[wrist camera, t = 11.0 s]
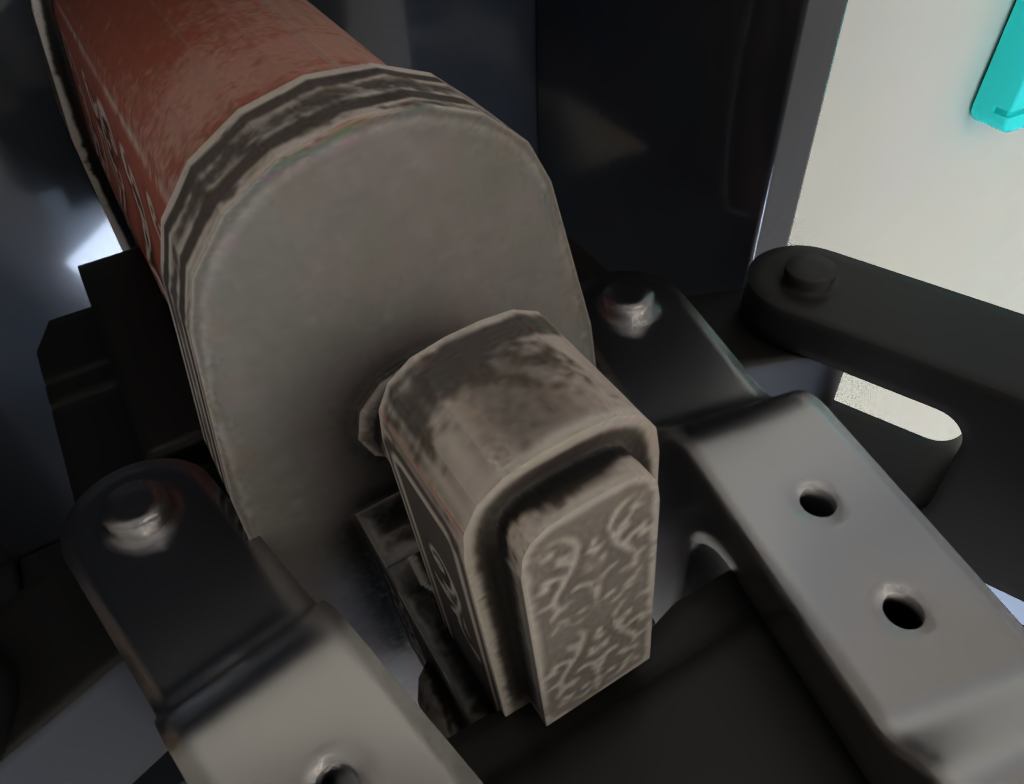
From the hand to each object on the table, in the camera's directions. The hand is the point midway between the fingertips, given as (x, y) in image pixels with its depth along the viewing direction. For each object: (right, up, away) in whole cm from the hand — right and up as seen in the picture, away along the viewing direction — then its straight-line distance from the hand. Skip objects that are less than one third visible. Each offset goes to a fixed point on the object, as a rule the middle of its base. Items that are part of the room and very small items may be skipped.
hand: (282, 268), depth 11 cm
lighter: (-1, +2, +2) cm, 3 cm away
